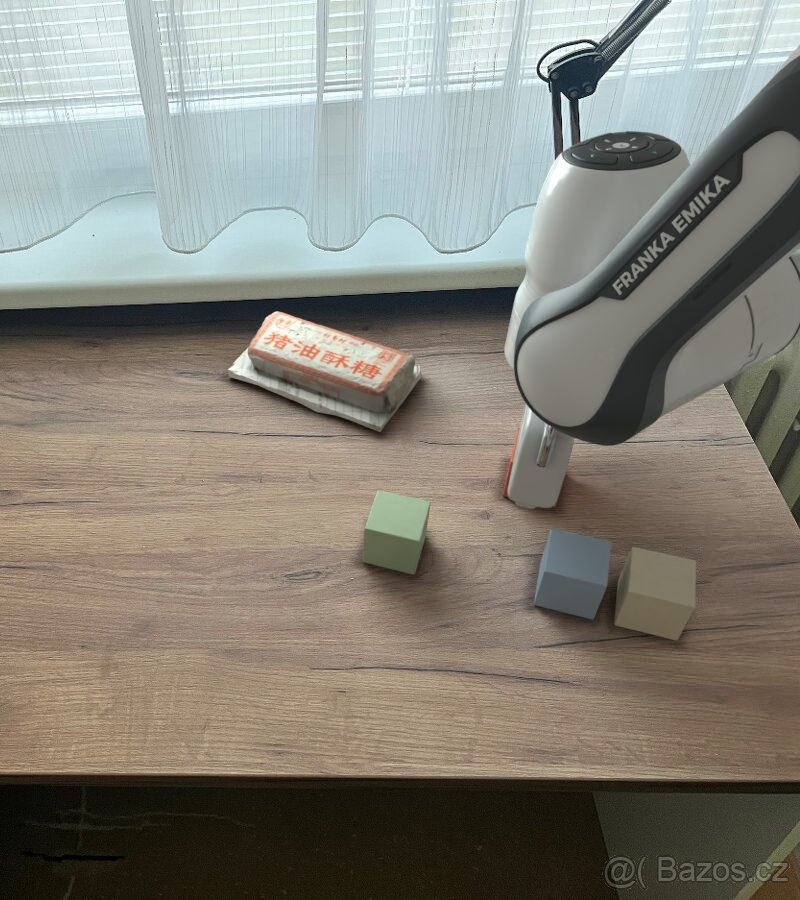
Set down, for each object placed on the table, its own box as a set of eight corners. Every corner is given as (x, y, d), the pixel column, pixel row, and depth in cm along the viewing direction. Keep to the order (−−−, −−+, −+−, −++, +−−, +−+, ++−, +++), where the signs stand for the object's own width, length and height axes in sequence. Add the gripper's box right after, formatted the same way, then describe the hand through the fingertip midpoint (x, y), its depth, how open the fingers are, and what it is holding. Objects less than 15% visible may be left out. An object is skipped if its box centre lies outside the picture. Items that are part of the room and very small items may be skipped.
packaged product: (428, 341, 87) (383, 400, 82) (424, 378, 90) (380, 437, 85) (273, 292, 95) (223, 343, 90) (274, 328, 99) (226, 378, 93)
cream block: (678, 595, 70) (696, 560, 66) (677, 641, 67) (695, 607, 64) (617, 580, 71) (632, 546, 68) (613, 625, 68) (628, 591, 65)
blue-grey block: (597, 576, 72) (611, 541, 68) (593, 620, 69) (607, 586, 66) (540, 562, 73) (550, 528, 70) (533, 605, 70) (544, 571, 67)
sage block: (425, 535, 76) (431, 501, 73) (414, 575, 73) (419, 541, 70) (374, 523, 77) (377, 489, 74) (361, 562, 75) (364, 528, 71)
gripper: (601, 438, 60) (558, 561, 70) (619, 273, 73) (580, 396, 83) (505, 420, 62) (476, 542, 72) (539, 262, 75) (511, 384, 85)
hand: (532, 463), depth 77 cm, fingers open, 8 cm apart
